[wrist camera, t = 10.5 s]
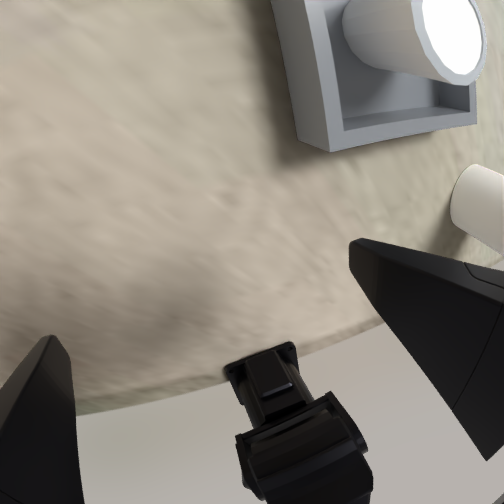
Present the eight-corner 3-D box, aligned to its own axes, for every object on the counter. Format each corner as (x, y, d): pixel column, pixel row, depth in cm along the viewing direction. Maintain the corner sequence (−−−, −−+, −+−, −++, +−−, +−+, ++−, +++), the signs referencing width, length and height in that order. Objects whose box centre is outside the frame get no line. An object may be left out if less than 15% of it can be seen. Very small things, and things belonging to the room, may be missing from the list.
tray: (440, 114, 22) (477, 124, 18) (297, 140, 20) (330, 152, 16) (417, -38, 14) (452, -45, 11) (255, -59, 12) (280, -85, 9)
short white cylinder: (409, 85, 19) (486, 98, 13) (331, 68, 17) (412, 69, 11) (411, 3, 16) (486, -2, 10) (333, -26, 14) (408, -53, 8)
